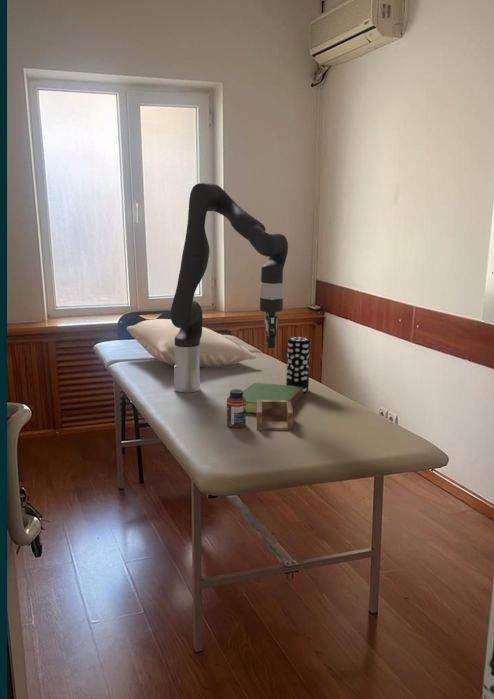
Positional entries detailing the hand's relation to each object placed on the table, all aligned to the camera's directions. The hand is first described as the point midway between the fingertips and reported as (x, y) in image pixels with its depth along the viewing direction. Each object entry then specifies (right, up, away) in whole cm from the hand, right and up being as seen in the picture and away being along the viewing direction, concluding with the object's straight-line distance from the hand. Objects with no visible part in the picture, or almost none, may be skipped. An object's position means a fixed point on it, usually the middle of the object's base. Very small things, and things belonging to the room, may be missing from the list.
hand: (270, 345), depth 203 cm
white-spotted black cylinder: (+11, -17, +26) cm, 33 cm away
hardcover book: (0, -21, +12) cm, 24 cm away
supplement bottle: (-11, -25, -10) cm, 29 cm away
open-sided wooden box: (+1, -25, -8) cm, 26 cm away
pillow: (-33, -8, +64) cm, 73 cm away
